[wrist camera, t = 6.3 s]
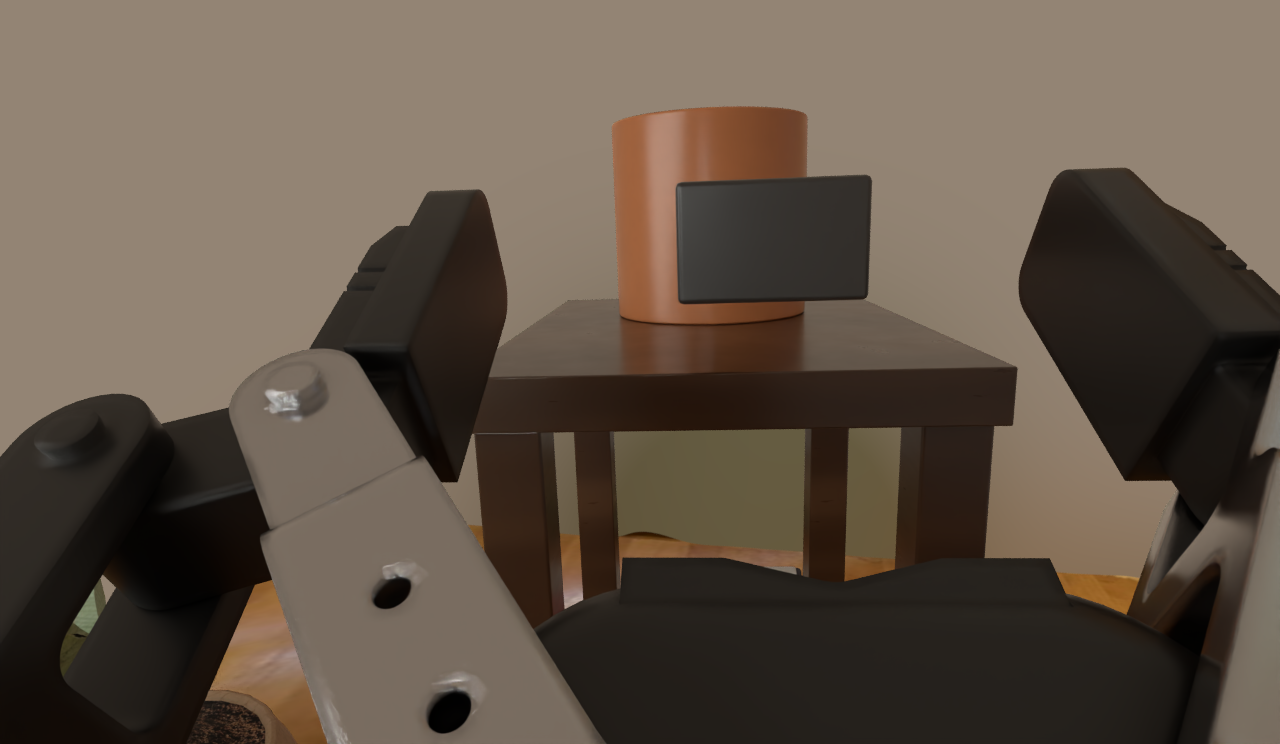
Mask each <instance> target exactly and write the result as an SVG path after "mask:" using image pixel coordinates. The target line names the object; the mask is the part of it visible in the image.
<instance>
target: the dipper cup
mask: <svg viewBox="0 0 1280 744" xmlns="http://www.w3.org/2000/svg"><path fill="white" fill-rule="evenodd" d="M612 144H613V167H614V193H615V217H616V240H617V241H616V242H617V264H618V265H617V266H618V291H619V314H620V315H621V316H622V317H624V318H626V319H630V320H634V321H640V322H647V323H658V324H677V325H718V324H740V323H753V322H763V321H771V320H778V319H784V318H789V317H793V316H796V315H799V314H801V313H802V312H804V309H805V301H833V300H862V299H865V298H866V297H867V295H868V284H869V255H870V254H869V253H870V226H871V196H872V195H871V194H872V180H871V177H870V176H868V175H847V176H846V175H845V176H821V177H807V115H806V114H804V113H802V112H799V111H796V110H791V109H783V108H772V107H741V106H740V107H706V108H691V109H679V110H669V111H661V112H654V113H647V114H642V115H636V116H632V117H628V118H625V119H622V120H619V121H617V122H615V123H614V124H613V125H612Z"/></svg>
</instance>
